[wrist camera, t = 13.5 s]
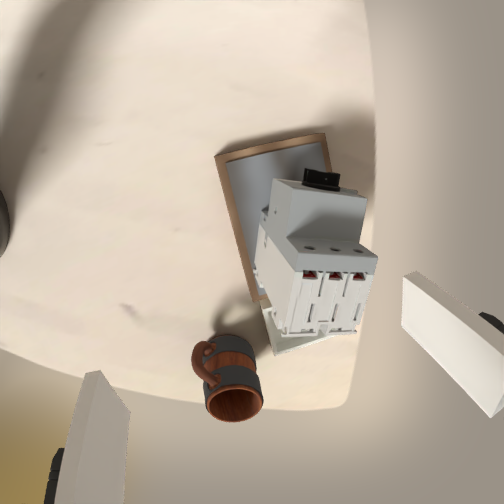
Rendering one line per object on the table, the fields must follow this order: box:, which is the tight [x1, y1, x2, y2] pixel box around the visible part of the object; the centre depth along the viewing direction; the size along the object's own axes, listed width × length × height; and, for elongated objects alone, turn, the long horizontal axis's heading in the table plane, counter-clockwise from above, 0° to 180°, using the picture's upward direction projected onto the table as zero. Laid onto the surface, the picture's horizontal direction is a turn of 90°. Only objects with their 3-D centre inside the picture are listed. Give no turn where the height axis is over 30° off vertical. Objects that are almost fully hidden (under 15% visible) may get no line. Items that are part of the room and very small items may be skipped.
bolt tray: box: [259, 298, 337, 356], centre depth 46 cm, size 12×9×3 cm
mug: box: [191, 335, 263, 422], centre depth 42 cm, size 9×12×12 cm
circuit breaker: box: [253, 168, 378, 337], centre depth 32 cm, size 8×14×15 cm, turn 173°
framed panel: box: [214, 133, 332, 302], centre depth 40 cm, size 14×20×3 cm
